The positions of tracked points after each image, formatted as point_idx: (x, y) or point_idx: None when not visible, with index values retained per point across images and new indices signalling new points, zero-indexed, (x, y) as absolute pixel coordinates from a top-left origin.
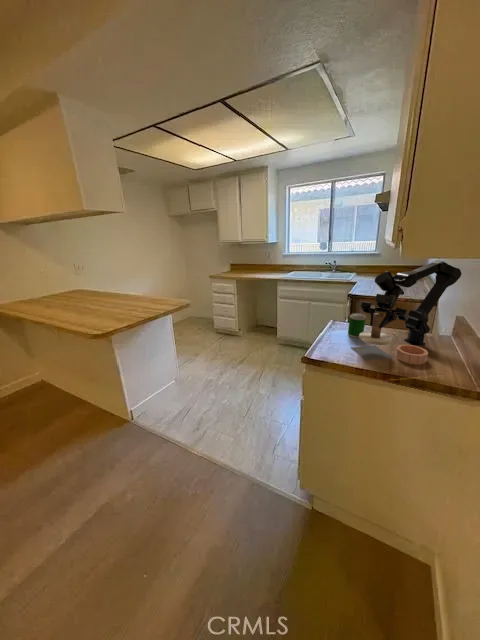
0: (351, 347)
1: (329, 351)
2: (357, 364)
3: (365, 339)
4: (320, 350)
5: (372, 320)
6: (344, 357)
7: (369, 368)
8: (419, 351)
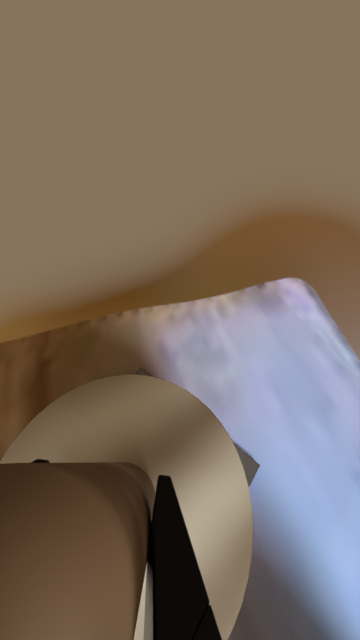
0: (254, 473)
1: (296, 363)
2: (158, 327)
3: (164, 387)
4: (324, 348)
5: (156, 540)
6: (221, 350)
7: (113, 325)
8: None
